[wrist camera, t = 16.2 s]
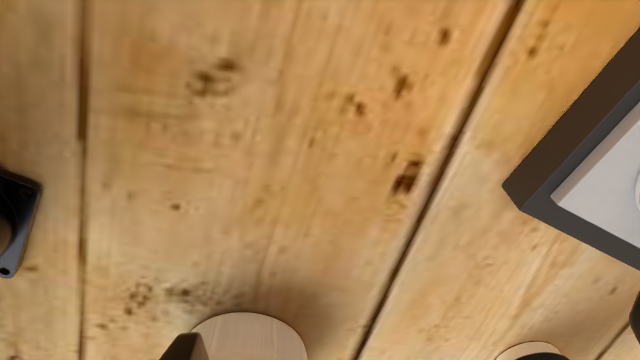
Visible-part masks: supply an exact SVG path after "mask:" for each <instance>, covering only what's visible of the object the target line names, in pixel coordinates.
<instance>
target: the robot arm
mask: <svg viewBox="0 0 640 360" xmlns="http://www.w3.org/2000/svg"><path fill="white" fill-rule="evenodd" d="M25 189H28V190H29V191H30V192H31V193H28V192H27V191H26V190H25ZM40 195H41V188H40V186H39V185H38V184H37V183H35V182H33V181H31V180H28V179H26V178H23V177H20V176H18V175H15V174H12V173H10V172H7V171H4V170H1V169H0V277H2V278H11V277H13V276H14V275H15V274H16V272H17V271H18V269H19V266H20V263H21V260H22V256H23V253H24V249H25V246H26V243H27V239H28V236H29V232H30V229H31V226H32V222H33V219H34V216H35V212H36V209H37V205H38V202H39V199H40ZM6 268H7V269H6ZM629 322H630V326H631V328H632V330H633V332H634V334H635V336H636V338H637V340H638V342H639V344H640V291H639V292H638V294H637V297H636V299H635V302H634V304H633V307H632V309H631V312H630V315H629ZM159 360H209V357H208V354H207V351H206V348H205V345H204V342H203V339H202V336H201V334H200V333H199V332H190V333H182V334H180V335H178V336H177V337H176V338H175V340H174V341H173V342H172V343H171V345H170V346H169V347H168V349H167V350H166V351H165V353H164V354H163V355H162V356H161V358H160V359H159Z"/></svg>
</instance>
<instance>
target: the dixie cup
mask: <svg viewBox="0 0 640 360" xmlns="http://www.w3.org/2000/svg"><path fill="white" fill-rule="evenodd" d="M496 360H569V359H568V358H566V357H565V356H563V355H562V354H561V353H560V352H559V350H558V349H557V348H556V347H555V346H553V345H551V344H548V343H545V342H527V343H523V344H519V345H516V346H514V347H512V348H510V349H508V350H506V351H505V352H503V353H502V354H501V355H499V356H498V357H497V359H496Z"/></svg>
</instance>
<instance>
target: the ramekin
mask: <svg viewBox="0 0 640 360" xmlns="http://www.w3.org/2000/svg"><path fill="white" fill-rule="evenodd" d="M191 332H199V333H200V334H201V336H202V339H203V342H204V345H205V348H206V351H207V354H208V357H209V360H308V359H307V353H306V349H305V346H304V343H303V341H302V340H301V338H300V336H299V335H298V334H297V333H296V332H295V331H294V330H293V329H292V328H291V327H290V326H288V325H287V324H285V323H284V322H281V321H279V320H277V319H275V318H272V317H269V316H266V315H262V314H257V313H246V312H236V313H228V314H223V315H219V316H216V317H213V318H210V319H208V320H206V321H204V322H203V323H201V324H199V325H198V326H197V327H195V328H194V329H193V330H192V331H191Z"/></svg>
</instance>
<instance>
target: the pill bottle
mask: <svg viewBox="0 0 640 360" xmlns="http://www.w3.org/2000/svg"><path fill="white" fill-rule="evenodd" d="M635 200H636V204H637V206H638V208H639V210H640V173H639V175H638V178H637V181H636V185H635Z"/></svg>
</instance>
